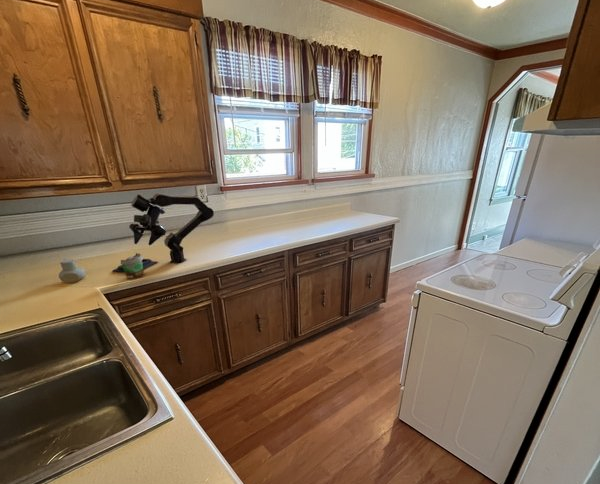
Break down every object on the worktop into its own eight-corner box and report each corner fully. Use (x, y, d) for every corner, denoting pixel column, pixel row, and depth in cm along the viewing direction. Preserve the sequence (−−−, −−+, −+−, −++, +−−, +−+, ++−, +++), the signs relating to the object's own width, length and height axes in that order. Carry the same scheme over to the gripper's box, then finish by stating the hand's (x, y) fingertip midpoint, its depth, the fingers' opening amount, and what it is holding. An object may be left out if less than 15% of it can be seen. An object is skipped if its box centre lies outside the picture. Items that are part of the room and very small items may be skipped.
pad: (157, 262, 181) (156, 258, 180) (136, 273, 166) (134, 269, 165) (135, 261, 184) (134, 257, 183) (112, 271, 169) (111, 267, 168)
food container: (136, 281, 157) (131, 260, 152) (125, 280, 158) (119, 260, 153) (151, 272, 167) (147, 253, 162) (141, 271, 168) (136, 252, 164)
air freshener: (89, 276, 163) (82, 257, 158) (85, 282, 156) (78, 262, 151) (64, 279, 160) (56, 259, 155) (58, 285, 153) (51, 264, 148)
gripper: (126, 207, 162) (115, 235, 158) (155, 208, 156) (145, 237, 152) (142, 219, 172) (132, 246, 169) (170, 221, 166) (161, 248, 162)
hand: (142, 244), depth 163 cm, fingers open, 9 cm apart
